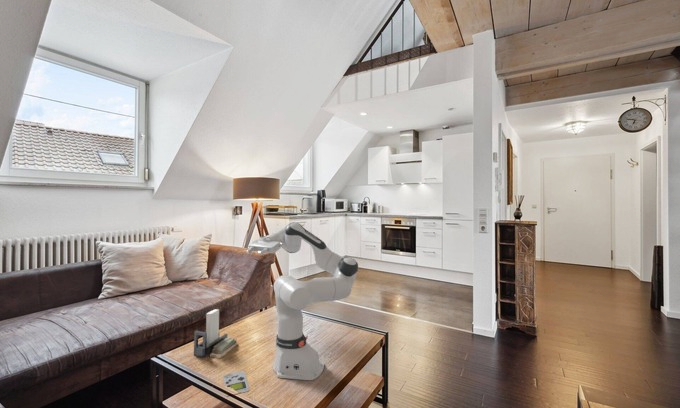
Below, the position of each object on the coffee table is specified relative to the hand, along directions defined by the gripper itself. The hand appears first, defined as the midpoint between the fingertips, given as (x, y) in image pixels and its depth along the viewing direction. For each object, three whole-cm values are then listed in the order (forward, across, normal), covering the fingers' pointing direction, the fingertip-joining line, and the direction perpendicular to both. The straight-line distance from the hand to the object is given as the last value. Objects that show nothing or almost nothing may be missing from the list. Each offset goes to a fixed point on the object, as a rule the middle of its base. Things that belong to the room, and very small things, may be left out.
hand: (253, 252), depth 163 cm
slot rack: (+34, +6, -36) cm, 49 cm away
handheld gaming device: (+45, -26, -34) cm, 62 cm away
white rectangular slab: (+34, +6, -36) cm, 49 cm away
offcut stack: (+32, -1, -37) cm, 49 cm away
